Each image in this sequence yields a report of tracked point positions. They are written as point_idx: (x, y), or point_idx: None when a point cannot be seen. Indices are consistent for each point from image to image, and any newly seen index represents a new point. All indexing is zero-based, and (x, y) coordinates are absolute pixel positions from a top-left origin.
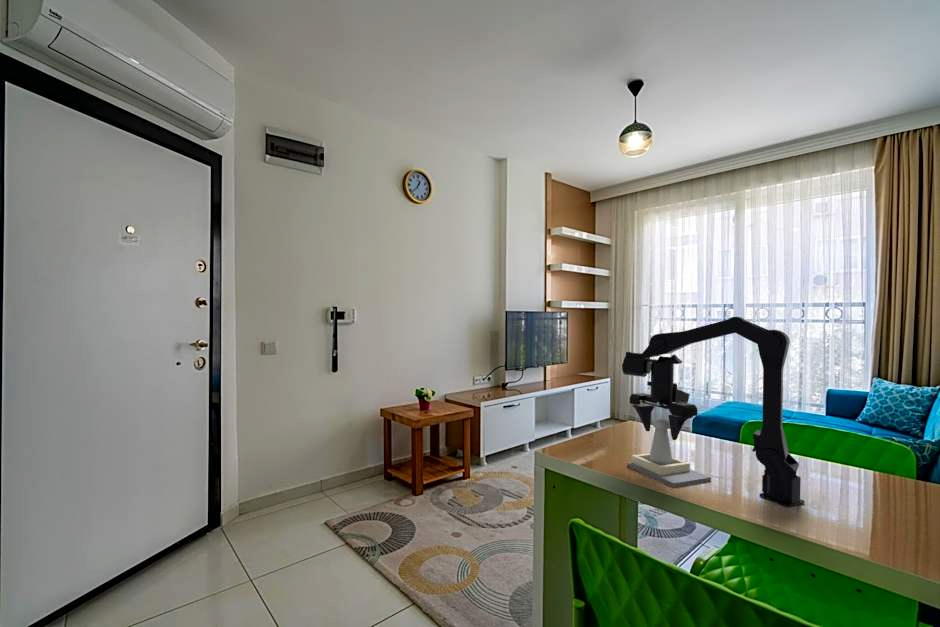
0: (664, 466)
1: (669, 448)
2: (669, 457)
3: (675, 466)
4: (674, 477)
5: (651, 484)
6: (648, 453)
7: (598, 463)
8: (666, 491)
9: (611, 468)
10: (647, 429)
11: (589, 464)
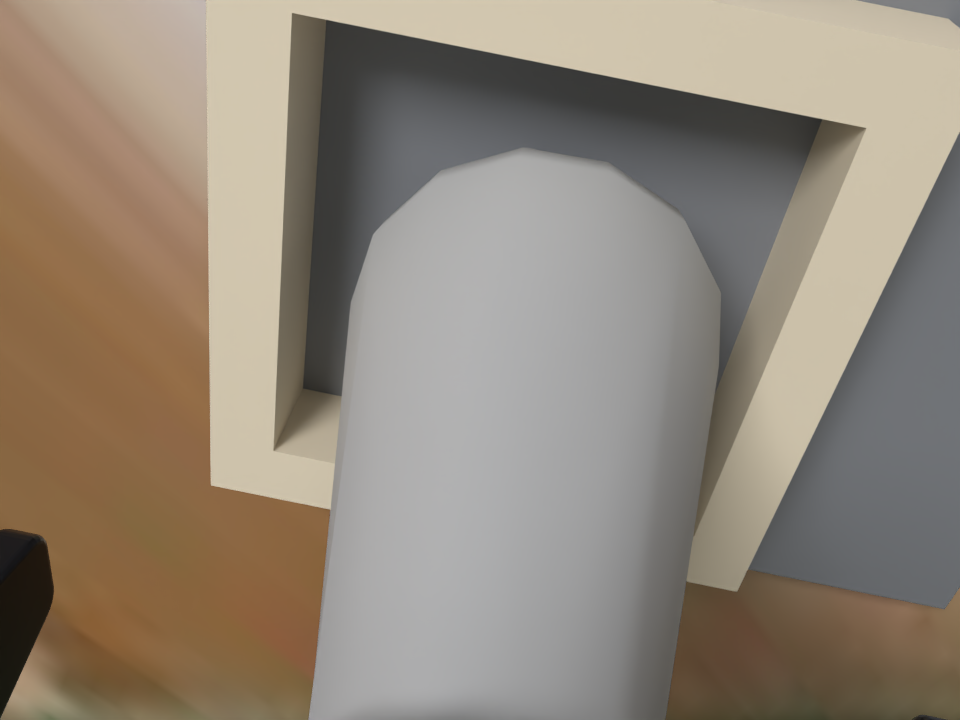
0: (745, 530)
1: (695, 444)
2: (712, 387)
3: (835, 375)
4: (877, 465)
5: (732, 648)
6: (214, 201)
7: (78, 579)
8: (912, 683)
9: (243, 594)
10: (26, 627)
11: (84, 650)
